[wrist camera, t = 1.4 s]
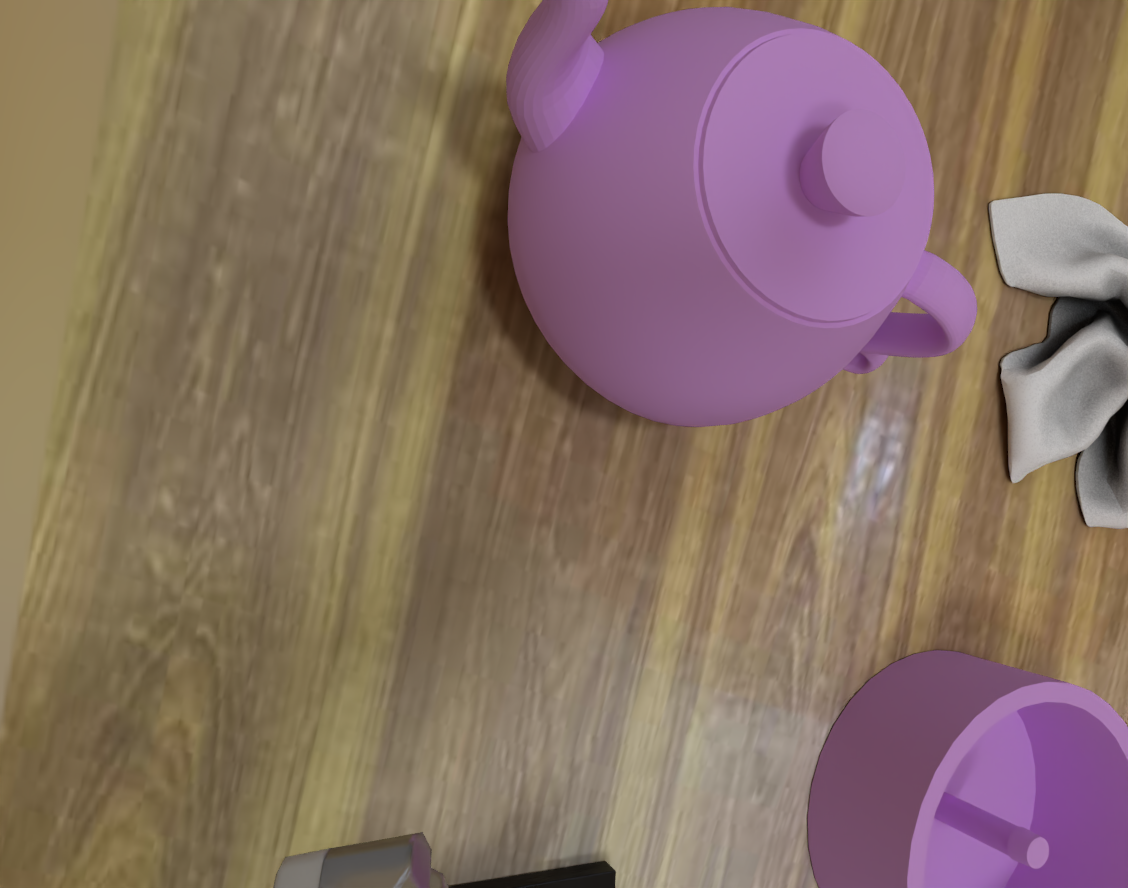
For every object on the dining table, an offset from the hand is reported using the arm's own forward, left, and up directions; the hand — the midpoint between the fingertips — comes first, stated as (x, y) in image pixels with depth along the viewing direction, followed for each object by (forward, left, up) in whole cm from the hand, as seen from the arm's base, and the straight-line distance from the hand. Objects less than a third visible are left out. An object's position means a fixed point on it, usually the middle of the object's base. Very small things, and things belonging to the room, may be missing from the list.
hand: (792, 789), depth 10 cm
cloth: (+41, +10, -27) cm, 50 cm away
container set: (+34, -15, -27) cm, 46 cm away
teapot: (+11, +13, -27) cm, 32 cm away
